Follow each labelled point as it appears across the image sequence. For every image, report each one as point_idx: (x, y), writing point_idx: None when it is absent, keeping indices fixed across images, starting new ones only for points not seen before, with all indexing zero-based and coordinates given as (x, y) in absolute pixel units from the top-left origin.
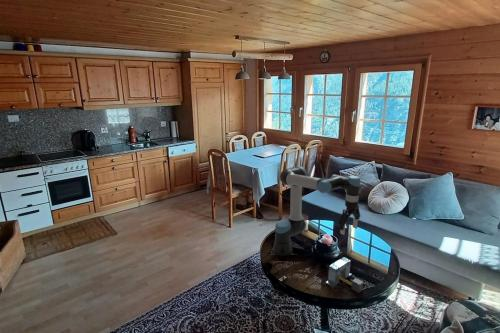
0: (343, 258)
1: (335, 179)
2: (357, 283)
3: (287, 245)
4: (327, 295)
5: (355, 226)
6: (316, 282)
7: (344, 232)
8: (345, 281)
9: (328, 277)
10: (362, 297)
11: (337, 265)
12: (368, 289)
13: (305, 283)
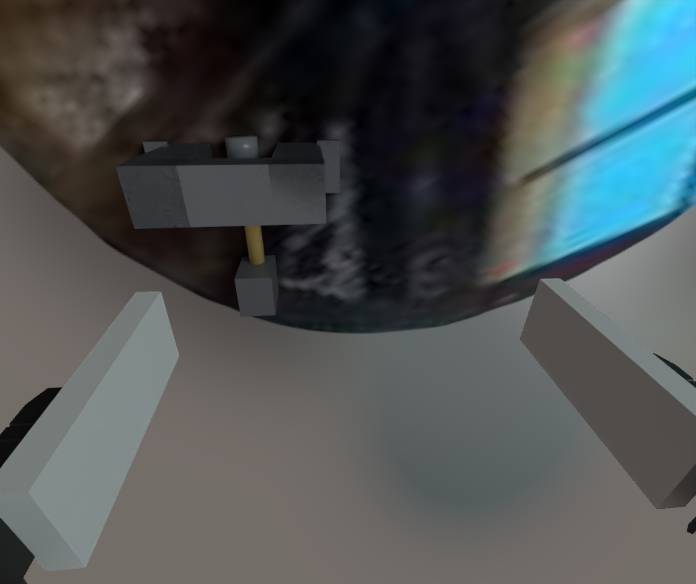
0: (302, 174)
1: None
2: (239, 306)
3: None
4: (89, 213)
5: (544, 348)
6: (94, 92)
7: (157, 389)
8: None
9: (155, 149)
10: None
11: (183, 204)
12: (309, 299)
13: (6, 44)
